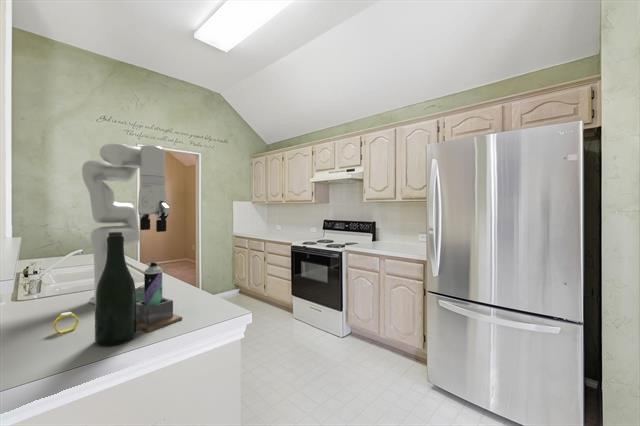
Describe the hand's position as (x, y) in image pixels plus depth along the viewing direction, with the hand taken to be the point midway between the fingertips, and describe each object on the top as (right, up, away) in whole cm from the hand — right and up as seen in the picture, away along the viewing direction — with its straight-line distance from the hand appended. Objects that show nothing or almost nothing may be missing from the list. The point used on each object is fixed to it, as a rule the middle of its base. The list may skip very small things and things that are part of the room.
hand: (153, 230), depth 100 cm
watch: (-24, -32, -7) cm, 41 cm away
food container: (-8, -32, +11) cm, 35 cm away
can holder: (0, -32, +1) cm, 32 cm away
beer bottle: (-4, -33, -13) cm, 35 cm away
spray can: (0, -31, +1) cm, 31 cm away
